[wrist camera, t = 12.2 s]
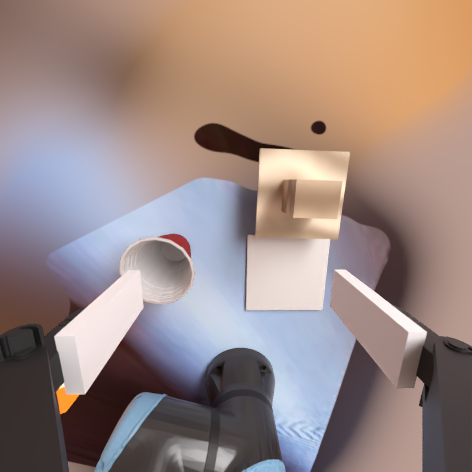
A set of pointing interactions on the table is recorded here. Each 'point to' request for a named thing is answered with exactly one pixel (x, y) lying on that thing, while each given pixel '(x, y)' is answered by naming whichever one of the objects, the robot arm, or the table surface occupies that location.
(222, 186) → the table surface
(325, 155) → the birch lid
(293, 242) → the white square panel
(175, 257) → the plastic cup
